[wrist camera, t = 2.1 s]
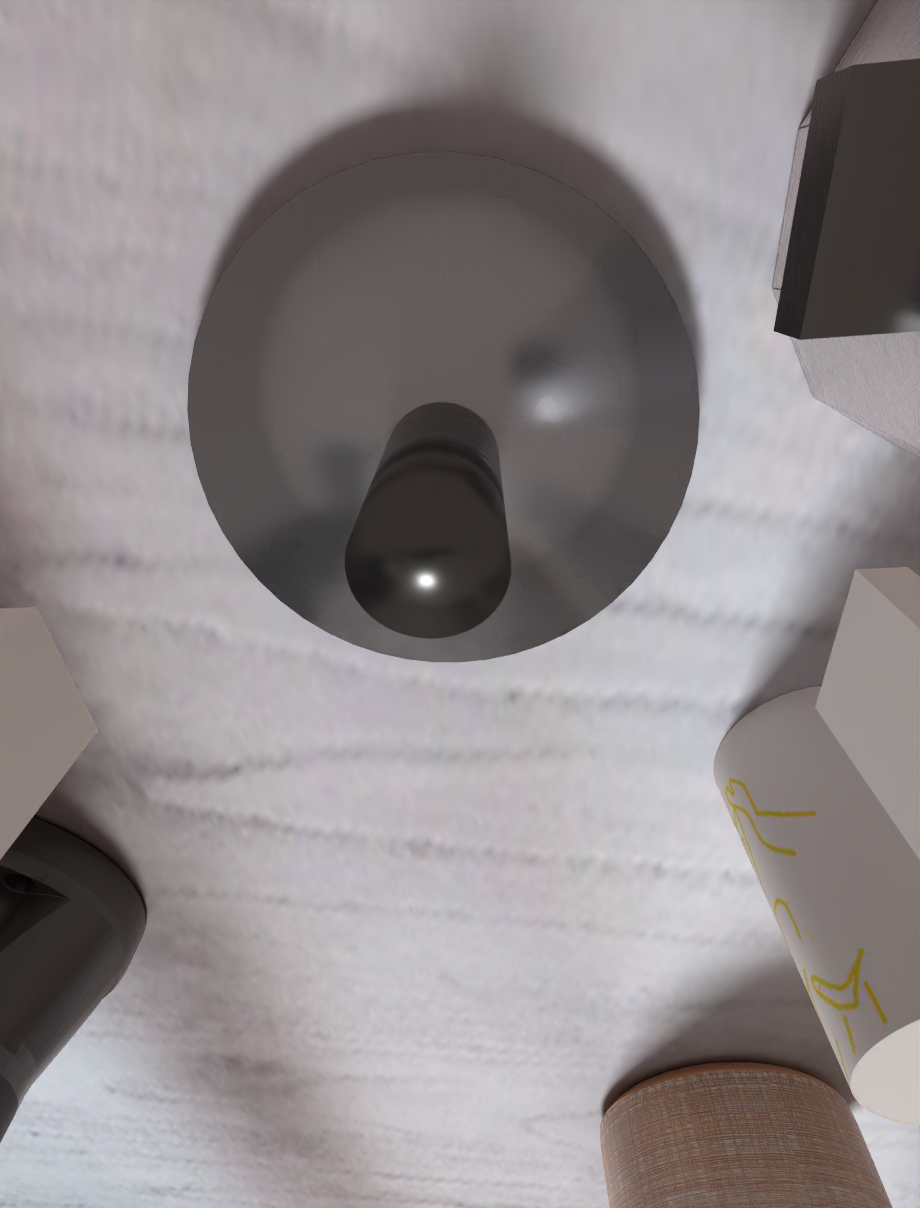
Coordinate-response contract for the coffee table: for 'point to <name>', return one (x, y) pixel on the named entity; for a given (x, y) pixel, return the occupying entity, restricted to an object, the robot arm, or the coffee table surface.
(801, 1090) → the planter
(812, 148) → the pot
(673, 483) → the lid
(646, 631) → the coffee table surface
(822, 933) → the beige cylinder
